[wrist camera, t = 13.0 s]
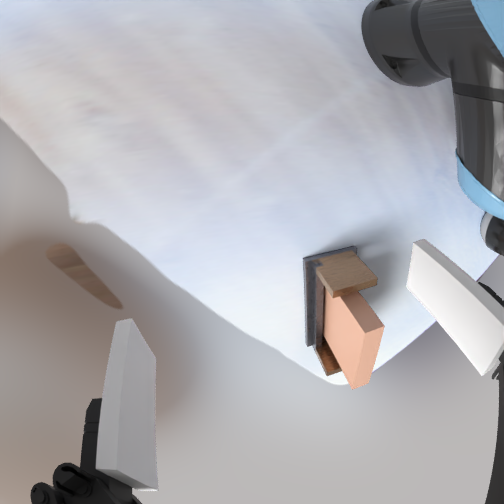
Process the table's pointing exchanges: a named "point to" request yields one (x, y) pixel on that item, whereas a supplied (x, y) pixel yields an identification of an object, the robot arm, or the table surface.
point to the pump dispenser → (493, 233)
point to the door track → (337, 284)
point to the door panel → (352, 335)
